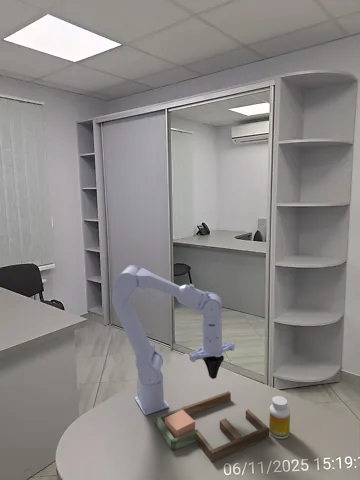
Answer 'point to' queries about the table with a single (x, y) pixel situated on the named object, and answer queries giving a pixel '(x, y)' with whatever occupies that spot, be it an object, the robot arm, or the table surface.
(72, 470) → the table surface
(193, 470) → the table surface
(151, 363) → the robot arm
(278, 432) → the supplement bottle
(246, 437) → the frame
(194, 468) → the table surface
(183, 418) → the terracotta block
